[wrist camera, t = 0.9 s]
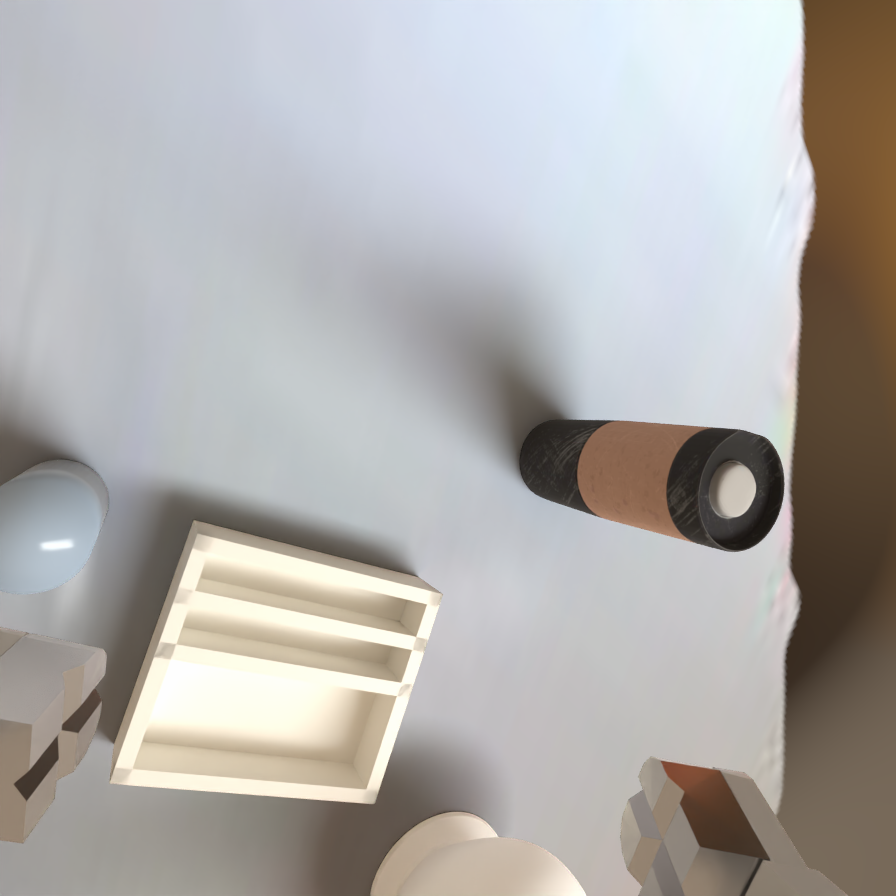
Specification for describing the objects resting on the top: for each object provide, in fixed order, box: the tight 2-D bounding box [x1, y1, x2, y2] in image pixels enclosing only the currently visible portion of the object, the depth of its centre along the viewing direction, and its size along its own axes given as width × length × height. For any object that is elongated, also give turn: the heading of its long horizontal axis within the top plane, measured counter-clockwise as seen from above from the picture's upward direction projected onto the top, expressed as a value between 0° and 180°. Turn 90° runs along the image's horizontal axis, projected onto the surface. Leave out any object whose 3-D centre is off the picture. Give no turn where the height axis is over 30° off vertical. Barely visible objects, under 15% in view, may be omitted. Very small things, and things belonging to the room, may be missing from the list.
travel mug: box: [520, 420, 784, 552], centre depth 47 cm, size 8×8×20 cm
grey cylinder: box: [0, 459, 109, 594], centre depth 35 cm, size 6×6×11 cm
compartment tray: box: [109, 520, 443, 804], centre depth 45 cm, size 16×18×5 cm
